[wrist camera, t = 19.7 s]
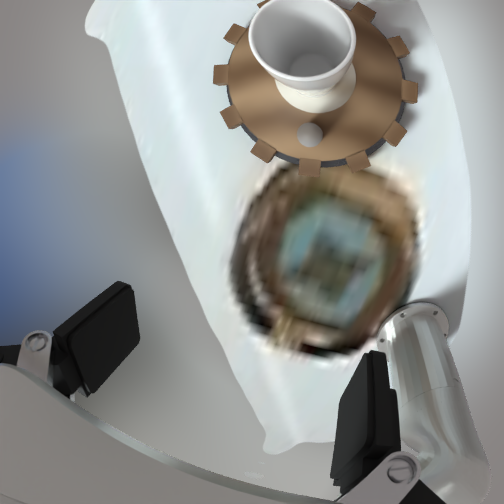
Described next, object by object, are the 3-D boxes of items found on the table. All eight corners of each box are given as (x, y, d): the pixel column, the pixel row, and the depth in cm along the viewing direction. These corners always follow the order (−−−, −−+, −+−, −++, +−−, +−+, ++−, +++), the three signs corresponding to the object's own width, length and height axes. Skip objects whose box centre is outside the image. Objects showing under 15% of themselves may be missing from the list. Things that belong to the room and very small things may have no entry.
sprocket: (403, 188, 31) (420, 202, 24) (216, 165, 36) (193, 174, 29) (410, 13, 21) (425, -9, 14) (224, 0, 26) (203, -21, 19)
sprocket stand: (435, 111, 26) (447, 109, 23) (298, 199, 36) (295, 207, 32) (318, -25, 22) (316, -39, 19) (190, 65, 32) (176, 60, 28)
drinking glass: (311, 38, 24) (297, -25, 11) (356, 78, 25) (380, 38, 12) (269, 76, 27) (224, 38, 14) (313, 116, 28) (304, 104, 15)
